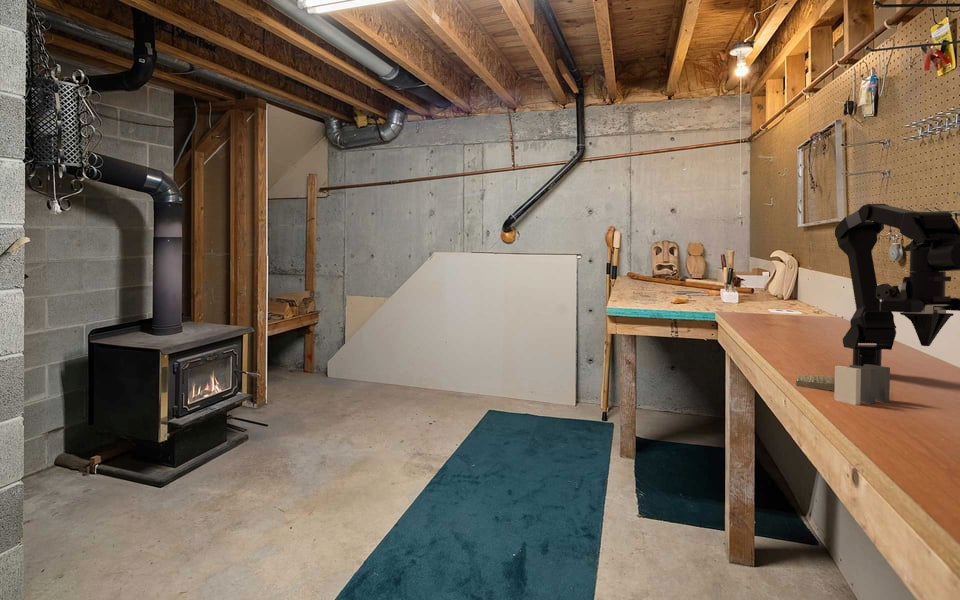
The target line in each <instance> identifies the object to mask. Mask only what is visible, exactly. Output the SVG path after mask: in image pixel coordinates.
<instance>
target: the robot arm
mask: <svg viewBox="0 0 960 600" xmlns="http://www.w3.org/2000/svg"><path fill="white" fill-rule="evenodd" d="M885 226H888V227H892V228H896V229H898V230H899V234H900V235H902V236H903V237H905V238H907V239H908V240H911V241H910V243H909V244H906V246H905V247H904V248H903V252H909V273H908V274H909V275H908V276H903V278H902V284H899V285H890V283H880V284H878V281H877V275H876V270H875V265H874V260H873V259H874V258H873V252H872V251H873V249H874V247H875V246H876V244H877V243H878V240H879V239H878V235H879V234H880V233H881V232H882V231H883V230H884V228H885ZM834 237H835V239H836V241H837V245H838V248H839V249H841V251H842V252H843V253H844V254H845V255H847V256H846V257H847V259H848V265H849V272H850V277H851V284H852V289H853V296H854V304H855V309H856V310H855V312H854V314H853V315H852V317H851V318H850V321H849V322H850V327H849V329H848V330H847V332H846V334H844V336H843V337H842V345H843V347H844V348H847V349H851V350H852V365H857V366H864V364H870V365H877V366H882V353H883V351H882V350H889V351H892V350H893V346H894V342H895V338H896V335H897V326H896V323H895V318H894V317H895V316H894V314H893V313H899V314H900V315H902V316H904V317H905V318H906V319H908V320H910V323H911V324H912V326H913V329H914V330H915V333H916V335H917V338H918V341H919V344H920V346H922V347H930V346H931V344H932V343H933V341H934V340H935V338H936V337H937V335H938V334H939V333H940V331H941V330H942V328H943V327H944V326H945V325H946V323H947V322H948V320H949V319H950V318H951V317H954V313H949V312H948V313H947V311H953V312H955V311H957V312H958V311H959V312H960V297H951V296H949V295H947V296H946V282H951V281H952V276H946V275H947V274H946V272H954V271H955V272H956V271H960V226H959V225H958V223H957V221H956V220H955V218H954V216H953V214H952V213H951V212H949V211H915V210H909V209H906V208H900V207H897V206H892V205H889V204H886V203H866V204H863V205H862V206H861V207H860V208H858V210H857V211H855V212H853V213H850V214H849V215H847V216H845V217H844V218H843V219H842V220H841V221H840V222H839V223H838V224H837V226H836V227H835V228H834Z"/></svg>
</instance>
